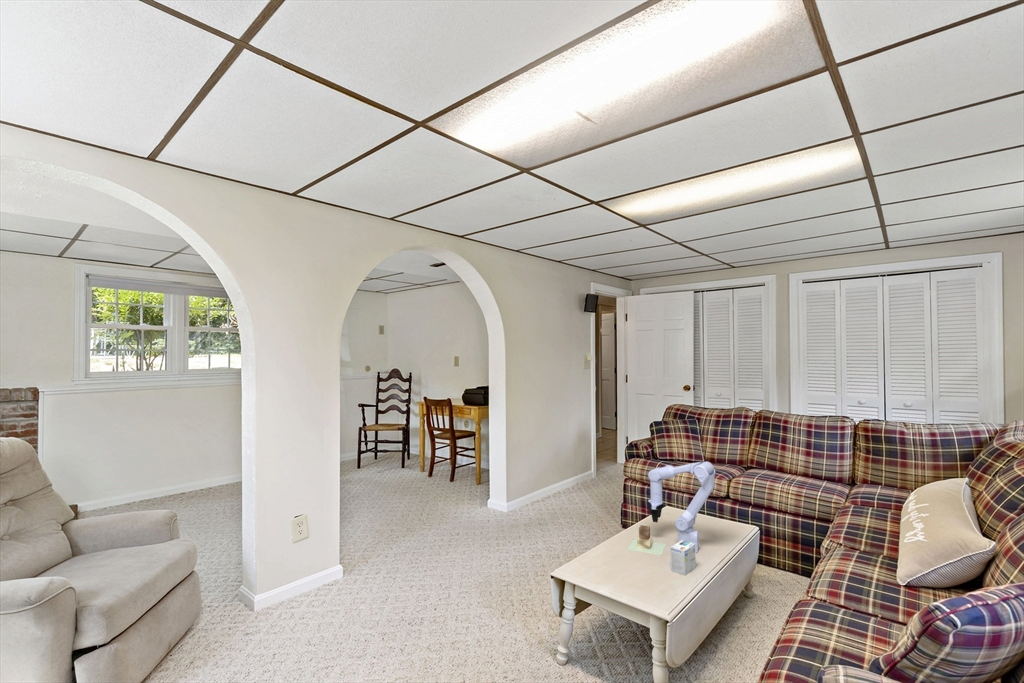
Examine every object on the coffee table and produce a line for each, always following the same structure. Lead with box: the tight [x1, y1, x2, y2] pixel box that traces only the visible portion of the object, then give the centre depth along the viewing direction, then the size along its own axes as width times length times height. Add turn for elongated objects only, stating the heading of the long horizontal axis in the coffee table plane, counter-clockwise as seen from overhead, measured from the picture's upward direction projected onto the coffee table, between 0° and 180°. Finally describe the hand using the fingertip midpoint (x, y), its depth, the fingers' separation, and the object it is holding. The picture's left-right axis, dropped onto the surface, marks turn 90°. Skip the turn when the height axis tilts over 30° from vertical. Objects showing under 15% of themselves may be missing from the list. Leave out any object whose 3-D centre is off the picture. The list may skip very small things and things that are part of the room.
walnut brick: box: [638, 524, 651, 540], centre depth 233 cm, size 4×4×5 cm
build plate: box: [626, 538, 667, 556], centre depth 231 cm, size 16×14×1 cm
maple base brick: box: [636, 535, 653, 549], centre depth 233 cm, size 6×6×4 cm
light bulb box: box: [670, 540, 697, 576], centre depth 209 cm, size 11×7×11 cm, turn 135°
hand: (656, 519), depth 242 cm, fingers open, 7 cm apart
